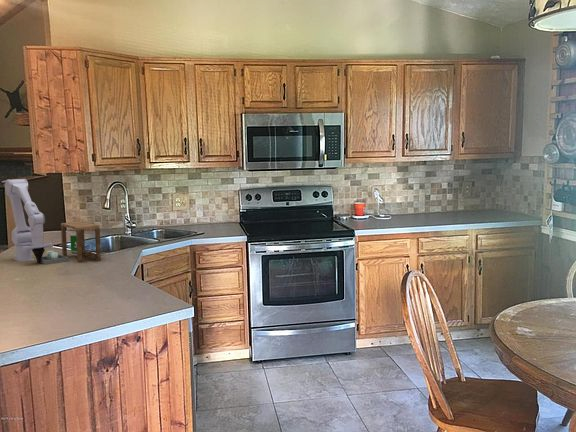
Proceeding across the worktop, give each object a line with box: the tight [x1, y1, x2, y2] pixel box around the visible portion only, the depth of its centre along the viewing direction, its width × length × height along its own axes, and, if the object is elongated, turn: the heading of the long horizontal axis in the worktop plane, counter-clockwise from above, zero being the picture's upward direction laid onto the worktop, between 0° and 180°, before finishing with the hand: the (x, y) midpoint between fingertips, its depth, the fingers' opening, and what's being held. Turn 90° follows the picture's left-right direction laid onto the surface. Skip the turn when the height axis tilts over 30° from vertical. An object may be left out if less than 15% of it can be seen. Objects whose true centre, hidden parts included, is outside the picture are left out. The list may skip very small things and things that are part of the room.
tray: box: [41, 253, 70, 266], centre depth 272 cm, size 12×12×3 cm
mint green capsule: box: [50, 251, 59, 260], centre depth 270 cm, size 4×4×5 cm
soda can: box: [69, 231, 77, 254], centre depth 298 cm, size 8×8×12 cm
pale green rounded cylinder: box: [46, 250, 55, 260], centre depth 274 cm, size 4×4×5 cm
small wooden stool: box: [60, 221, 102, 263], centre depth 280 cm, size 22×12×19 cm, turn 45°
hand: (39, 262), depth 267 cm, fingers closed
